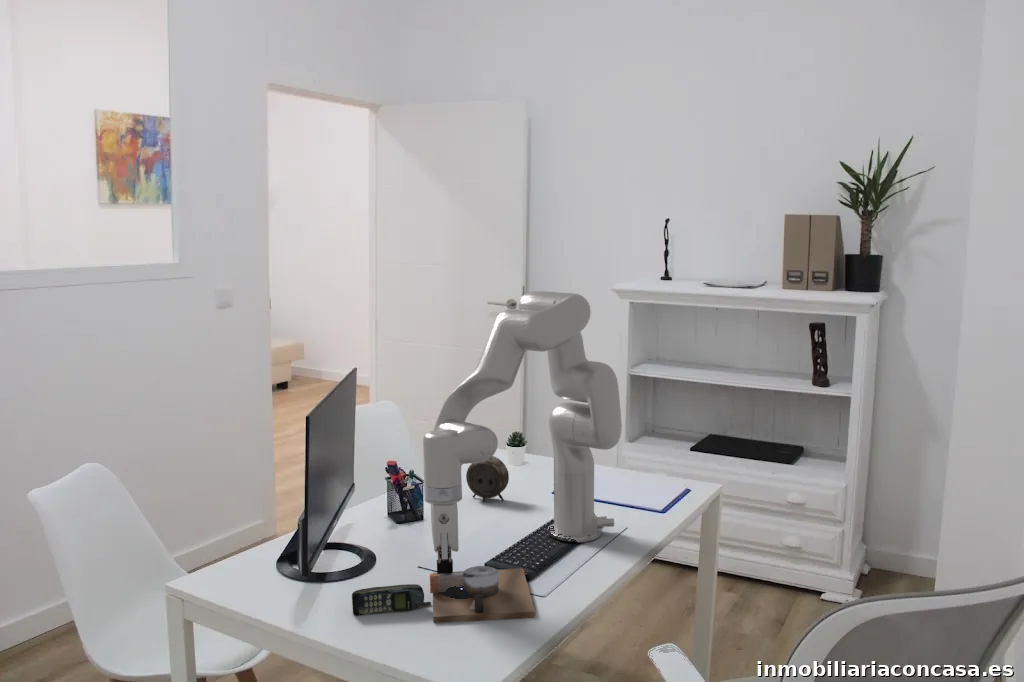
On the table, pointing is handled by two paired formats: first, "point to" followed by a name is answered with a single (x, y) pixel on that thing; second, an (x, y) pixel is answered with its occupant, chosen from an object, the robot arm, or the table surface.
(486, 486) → the alarm clock
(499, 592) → the plinth
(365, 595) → the mobile phone
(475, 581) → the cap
